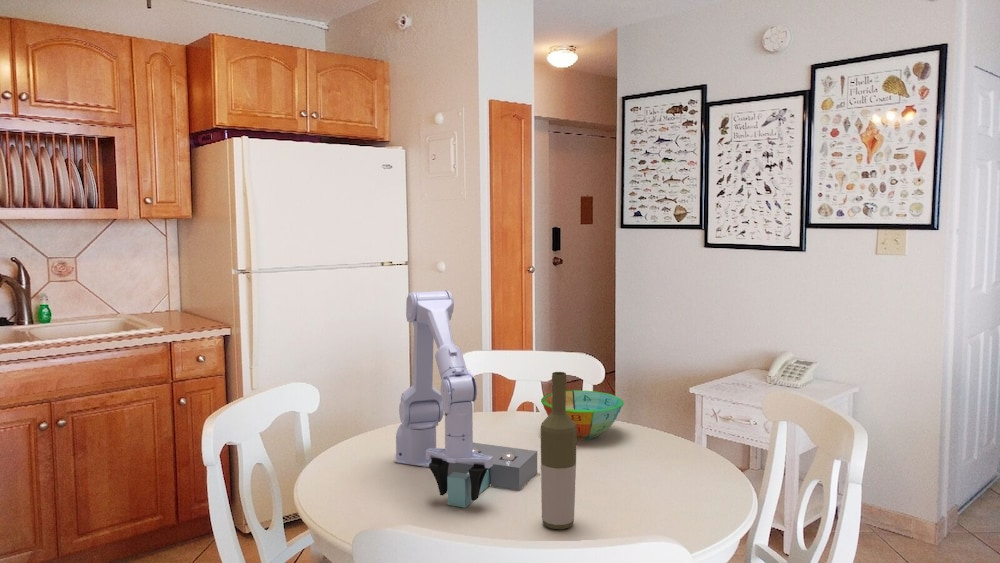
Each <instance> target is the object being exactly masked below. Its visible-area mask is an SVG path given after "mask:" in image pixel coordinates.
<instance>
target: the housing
mask: <svg viewBox="0 0 1000 563" xmlns="http://www.w3.org/2000/svg"><path fill="white" fill-rule="evenodd" d="M473 447H475V448H478V453H480V454H484V455H487V456H493V466H492V467H491V468H490V473H491V484H490V487H492V488H498V489H505V490H510V491H511V490H512V491H518V492H520V490H522V489H523V488H524V486H526V485H527V483H529V482H530V480H531V479H533V477H534V476H536V475H537V473H538V450H534V449H533V450H532V449H525V448H524V449H523V448H516V447H509V446H503V445H494V444H487V443H480V442H473ZM505 452H512V453H514V454H515V460H514V461H507V460H502V454H503V453H505ZM472 467H474V465H470V464H463V463H449V467H448V476H449V475H450V474H452V473H453V472H458V473H464V474H467V473H468V472H469V469H471V468H472Z"/></svg>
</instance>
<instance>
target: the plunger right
mask: <svg viewBox="0 0 1000 563" xmlns="http://www.w3.org/2000/svg"><path fill="white" fill-rule="evenodd" d="M502 460H507V461H514V460H515V454H514V453H512V452H505V453H503V454H502Z"/></svg>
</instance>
